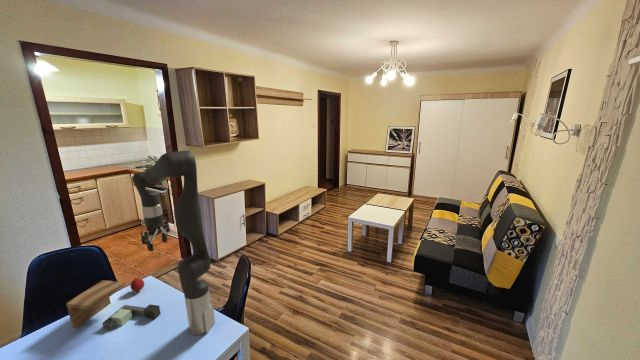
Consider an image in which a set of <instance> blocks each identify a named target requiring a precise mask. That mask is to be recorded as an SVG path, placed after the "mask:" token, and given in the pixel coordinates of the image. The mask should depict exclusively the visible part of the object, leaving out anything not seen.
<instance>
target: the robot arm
mask: <svg viewBox="0 0 640 360" xmlns="http://www.w3.org/2000/svg"><path fill="white" fill-rule="evenodd" d="M197 171H198V169H197V162H196V158H195V156H194V153H193V152H192V151H190V150H187V149H186V150H179V151H178V150H177V151H168V152H165V153H163V154H161V155H160V157H158V159H157V161H156V162H155V163H154V164H153V166H151V167H149V168H148V169H146V170H145V171H144V170H143V171H137V172H135V173H134V174H133V176H132V178H131V179H132V183H133V185H134V187H135V188H136V190H137V192H138V195H139V197H140V201H141V207H142V209H141V211H142V216H143V222H144V226H145V227H146V230H144V231H143V230H142V231H141V232H140V236H141V237H140V238H141V244H142V245H146V248H147V251H148V252H154V250H155V248H154V243H153V242H154V240H155V239H156V237H157V236H158V235H160V236H161V241H162V243H168V233H169V232H171V229H170V223H169V220H166V219H165V220H164V214H163V207H162V204H161V199H160V193H159V192H158V191H157V190H147V189H146V188H150V187H155V186H158V185H161V183H163V182H164V181H165V180H166V179H168V178H169V179H170V178H172V179H173V178H180V177H183V186H182V191H181V193H180V196H179V198H178V199H177V201H176V204H175V206H174V211H173V214H174V221H175V226H176V229H177V231H178V232H179V233H180V234H181V235H182V236H183V237H184V238H186V239H187V240H188V241H189V242H190V245H191V246H192V247H191V248H192V254H191V255H189V256H188V257H185V258H184V259H183V260H181V261H179V262H178V266H177V272H178V276H179V277H178V278H179V281H180V286H181V290H182V292H183V295H184V301H185V302H184V304H185V310H186V314H187V322H188V323H187V324H188V329H189V333H190V334H191V335H194V336H199V335H200V336H201V335H203V334H208V333H209V331H210V330H211V329H212V327H213V326H214V324H215V323H216V320H215V319H216V318H215V311H214V304H213V303H211V297H210V288H209V282H208V281H206V280H205V279H199V278H201V277H202V276H204V275H205V274H206V273H208V272H209V271H210V269H211V259H210V255H209V251H208V247H207V243H206V239H205V238H206V237H205V233H204V226H203V217H202V210H201V205H200V198H199V190H198V189H199V188H198V172H197Z"/></svg>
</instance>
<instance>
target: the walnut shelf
mask: <svg viewBox="0 0 640 360" xmlns="http://www.w3.org/2000/svg"><path fill="white" fill-rule="evenodd" d="M124 287H126V283H125V282H122V281H115V280H114V281H113V280H104V279H103V280H100V282H97V283H96V284H95V285H93V286H91V287H89V288H88V289H86V290H85V291H83V292H81V293H80V294H78V295H77V296H75V297H74V298H72V299H71V300H69V301H68V302H66V303H65V304H66V308H67V312H68V315H69V319H70V322H71V323H70V324H71V326H72V329H73V330H74V329H75V330H76V329H77V328H80V327H81V326H82V325H83V324H85V323H86V322H87V321H88V320H90V319H92V318H93V317H94V316H96V315H97V314H98V313H99V312H101V311H102V310H103V309H105V308H107V306H109V305H111V304H112V303H111V298H110V297H111V296H113V295H114V294H116V293H117V292H118V291H120V290H121V289H122V288H124Z"/></svg>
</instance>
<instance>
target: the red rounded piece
mask: <svg viewBox="0 0 640 360" xmlns="http://www.w3.org/2000/svg"><path fill="white" fill-rule="evenodd" d="M144 287H145V281H144V279H142V278H139V277H138V276H136V277H135V278H134V279H133V280H132V281H131V282H130V289H131V290H132V291H133V292H140V291H141V290H142V289H143V288H144Z"/></svg>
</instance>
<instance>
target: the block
mask: <svg viewBox="0 0 640 360" xmlns="http://www.w3.org/2000/svg"><path fill="white" fill-rule="evenodd" d="M119 309H120V308H119ZM119 309H118V310H119ZM118 310H117V311H118ZM117 311H116V312H117ZM114 313H115V312H114ZM114 313H113V314H114ZM113 314H112V315H113ZM112 315H111V316H112ZM131 319H133V315H132V313H131V310H126V309H120V310H119V311H118V312H117V313H115V314H114V315H113V316H112V317H111V320H112V321H114V325H115V326H120V327H123V326H124V325H125V324H127V323H128V322H130V321H131Z"/></svg>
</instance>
